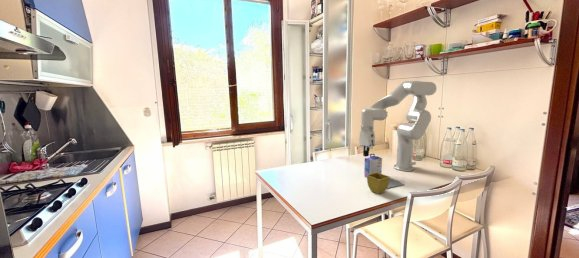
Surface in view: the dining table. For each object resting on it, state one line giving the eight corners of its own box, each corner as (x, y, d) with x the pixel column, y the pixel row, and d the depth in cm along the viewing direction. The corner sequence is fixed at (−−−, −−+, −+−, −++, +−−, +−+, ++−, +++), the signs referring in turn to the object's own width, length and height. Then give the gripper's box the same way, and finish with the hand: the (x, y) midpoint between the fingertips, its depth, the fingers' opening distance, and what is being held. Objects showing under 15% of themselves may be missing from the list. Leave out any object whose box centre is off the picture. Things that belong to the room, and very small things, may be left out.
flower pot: (376, 187, 143) (377, 171, 141) (389, 192, 135) (390, 176, 134) (365, 190, 138) (366, 175, 136) (378, 196, 131) (379, 180, 129)
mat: (385, 176, 159) (385, 175, 159) (404, 184, 145) (404, 184, 145) (367, 179, 153) (367, 179, 153) (386, 189, 140) (386, 188, 140)
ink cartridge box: (375, 173, 164) (376, 152, 161) (381, 176, 158) (383, 154, 156) (363, 176, 160) (364, 154, 157) (369, 179, 155) (370, 156, 152)
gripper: (380, 129, 155) (378, 158, 158) (364, 126, 169) (362, 152, 172) (370, 130, 152) (369, 159, 155) (354, 127, 166) (353, 153, 169)
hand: (365, 155), depth 163 cm, fingers closed
